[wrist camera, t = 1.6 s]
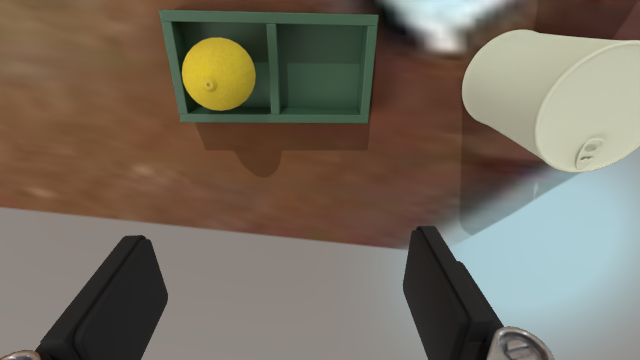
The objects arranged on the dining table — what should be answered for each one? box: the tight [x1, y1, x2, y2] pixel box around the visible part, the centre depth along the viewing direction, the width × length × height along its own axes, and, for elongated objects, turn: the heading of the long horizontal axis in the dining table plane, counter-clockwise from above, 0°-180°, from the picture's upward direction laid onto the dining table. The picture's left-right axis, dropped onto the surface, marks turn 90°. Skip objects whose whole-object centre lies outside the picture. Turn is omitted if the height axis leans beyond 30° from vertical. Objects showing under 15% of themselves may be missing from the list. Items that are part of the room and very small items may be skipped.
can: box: [462, 30, 640, 173], centre depth 26 cm, size 9×9×12 cm
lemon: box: [182, 38, 256, 111], centre depth 26 cm, size 6×6×8 cm
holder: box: [159, 10, 378, 123], centre depth 28 cm, size 9×17×3 cm, turn 89°
